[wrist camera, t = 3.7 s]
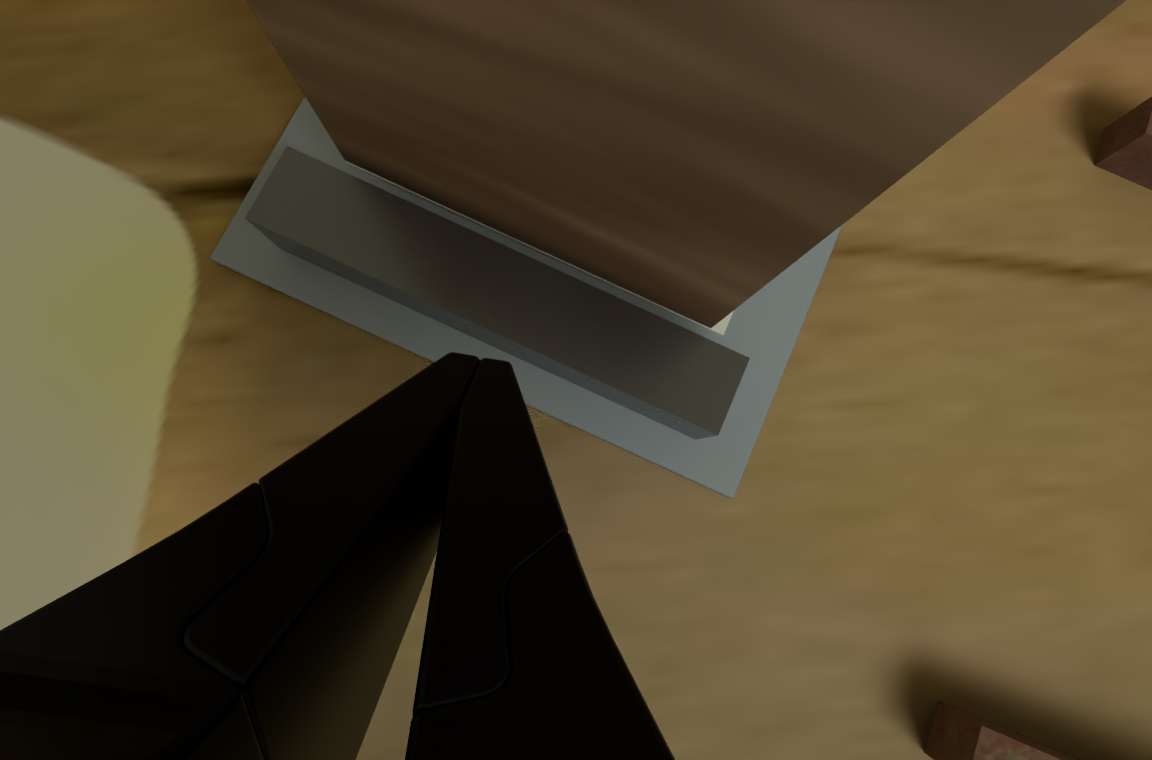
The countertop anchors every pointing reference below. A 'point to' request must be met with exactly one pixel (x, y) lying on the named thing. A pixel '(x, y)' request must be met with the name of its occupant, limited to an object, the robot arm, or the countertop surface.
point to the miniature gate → (957, 738)
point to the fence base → (497, 295)
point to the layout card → (711, 462)
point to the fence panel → (661, 116)
